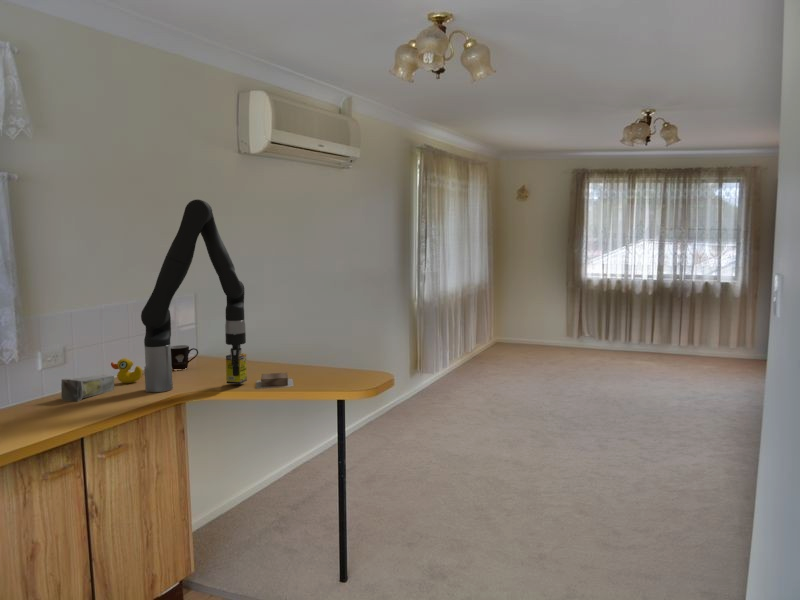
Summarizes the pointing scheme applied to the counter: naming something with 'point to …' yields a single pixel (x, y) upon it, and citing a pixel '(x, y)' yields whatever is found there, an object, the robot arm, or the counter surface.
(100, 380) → the block
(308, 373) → the counter surface
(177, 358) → the coffee mug
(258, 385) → the pad
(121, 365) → the duckling
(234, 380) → the supplement box
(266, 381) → the base block
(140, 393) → the counter surface
